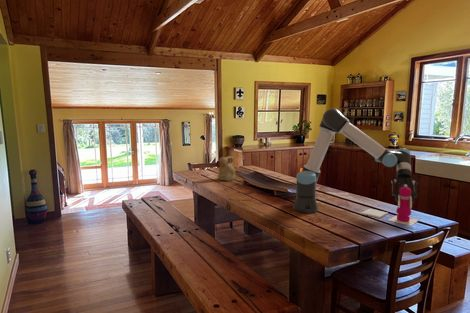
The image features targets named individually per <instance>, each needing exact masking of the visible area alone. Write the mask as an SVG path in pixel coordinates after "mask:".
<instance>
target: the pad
mask: <svg viewBox="0 0 470 313" xmlns="http://www.w3.org/2000/svg"><path fill="white" fill-rule="evenodd" d="M360 214H361V215H364V216H367V215H368V217H371V218H377V219H382V218H383V217H385V216H388V214H389V212H386V211H382V210H378V209H373V208H368V209H366V210H363V211H362V212H361V213H360Z"/></svg>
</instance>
